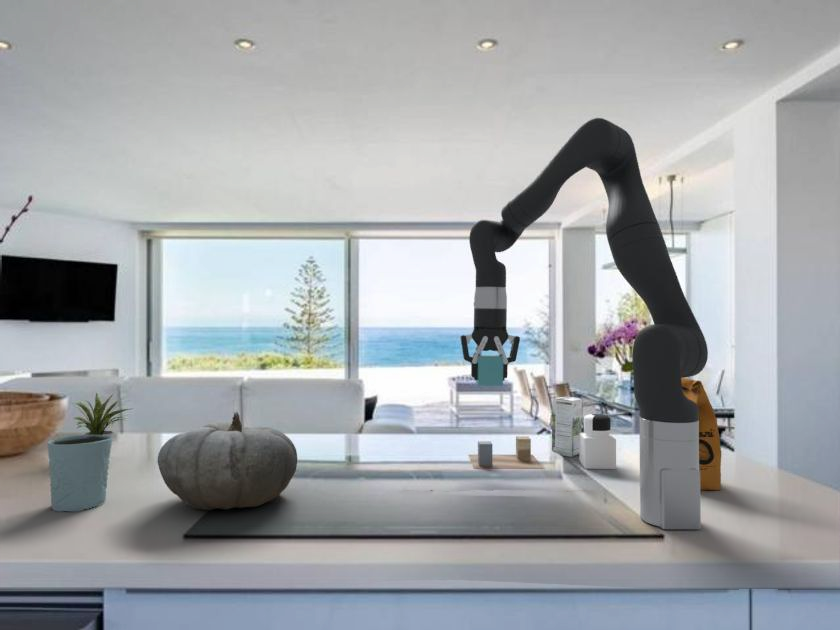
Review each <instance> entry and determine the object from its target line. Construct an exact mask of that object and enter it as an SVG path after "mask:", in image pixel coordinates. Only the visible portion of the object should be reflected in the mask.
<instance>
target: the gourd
mask: <svg viewBox="0 0 840 630" xmlns="http://www.w3.org/2000/svg"><path fill="white" fill-rule="evenodd" d="M157 465H158V469H159V472H160V475H161V477H162V479H163V482H164V484H165V485H166V487H167V489H169V490H170V492H172V493H173V494H174V495H175V496H177V498H179V499H180V500H182V502H184V503H186V504H187V505H189V506H191V507H192V508H194V509H197V510H205V511H212V510H214V509H215V510H216V509H220V510H221V509H222V510H231V509H233V508H238V509H242V508H255V507H256V508H257V507H259V506H261V505H263V504H265V503H268V502H271V501H273V500H274V499H276V498H277V497H278V496H279V495H280V494H282V493H283V492H284V491H285V489H286V488H287V487H288V486H289V484H290V483H291V480H292V478H293V477H294V475H295V474H296V470H297V467H298V466H297V465H298V451H297V448H296V447H295V444H294V443H293V441H292V440H291V438H289V437H288V436H287V435H286V434H285V433H284V432H282V431H280V430H278V429H275V428H273V427H265V426H257V427H256V426H255V427H251V428H250V427H248V426H244V425H242V422H241V420H240V415H239V412H238V411H235V412H233V416H232V421H231V422H230V421H227V420H226V421H225V420H222V421H221V420H219V421H217V420H216V421H213V422H210V423H207V424H205V425H203V426H201V427H197V428H193V429H190V430H189V431H185V432H181V433H177V434H176V435H173V436H172V437H171V438H169V439H167V441H166V442H165V443H164V444H163V445H162V446H161V448H160V449H159V451H158V455H157Z"/></svg>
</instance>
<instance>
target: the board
mask: <svg viewBox="0 0 840 630" xmlns="http://www.w3.org/2000/svg"><path fill="white" fill-rule="evenodd" d="M531 439H532V438H530V437H529V436H520V435H519V436H515V454H492V466H479V464H478V454H468V458H469V460H470V463H471V466H472V468H473V470H545V469H546V468H545V467H544V465H542V464H541V463H540V461H539V460H538V459H537V458H536V457H535V456H534V455H533V454H532V453H531V452H532V448H531V447H532V446H531V445H532V444H531V443H532V440H531Z"/></svg>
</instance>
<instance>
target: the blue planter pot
mask: <svg viewBox="0 0 840 630" xmlns="http://www.w3.org/2000/svg"><path fill="white" fill-rule="evenodd" d="M111 443H112V444H113V440H112V437H111V436H108V435H82V434H80V435H71V436H64V437H59V438H55V439H50V440H48V441H47V454H48V459H49V461H48V466H49V467H48V468H49V475H50V477H49V479H50V484H49V485H50V497H51V498H50V507H51V509H53V510H52V511H54V510H56V511H55V512H57V511H75V512H78V511H77V510H82V511H85V510H84V509H87V510H90V509H89V508H91V509H93V508H92V507H95V506H98V505H100V504H102V503H103V504H105V502H106V500H107V488H108V475H109V468H110V467H109V465H110V456H111V451H110V450H111V449H112V446H111ZM103 504H102V505H103ZM100 506H101V505H100ZM98 507H99V506H98ZM95 508H96V507H95Z"/></svg>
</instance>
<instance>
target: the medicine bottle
mask: <svg viewBox="0 0 840 630" xmlns="http://www.w3.org/2000/svg"><path fill="white" fill-rule="evenodd" d="M611 422H612V421H611V417H610V416H608V415H606V414H601V413H600V414H599V413H591V414H590V413H589V414H587V415H584V417H583V432H582V433H580V434H579V454H578V456H579V462H580V464H581V465H582V466H583V468H584V469H585V470H588V469H589V470H616V469H617V439H616V438H615V437H614V436H613V435H611V434H610V433H611V427H612V426H611Z"/></svg>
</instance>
